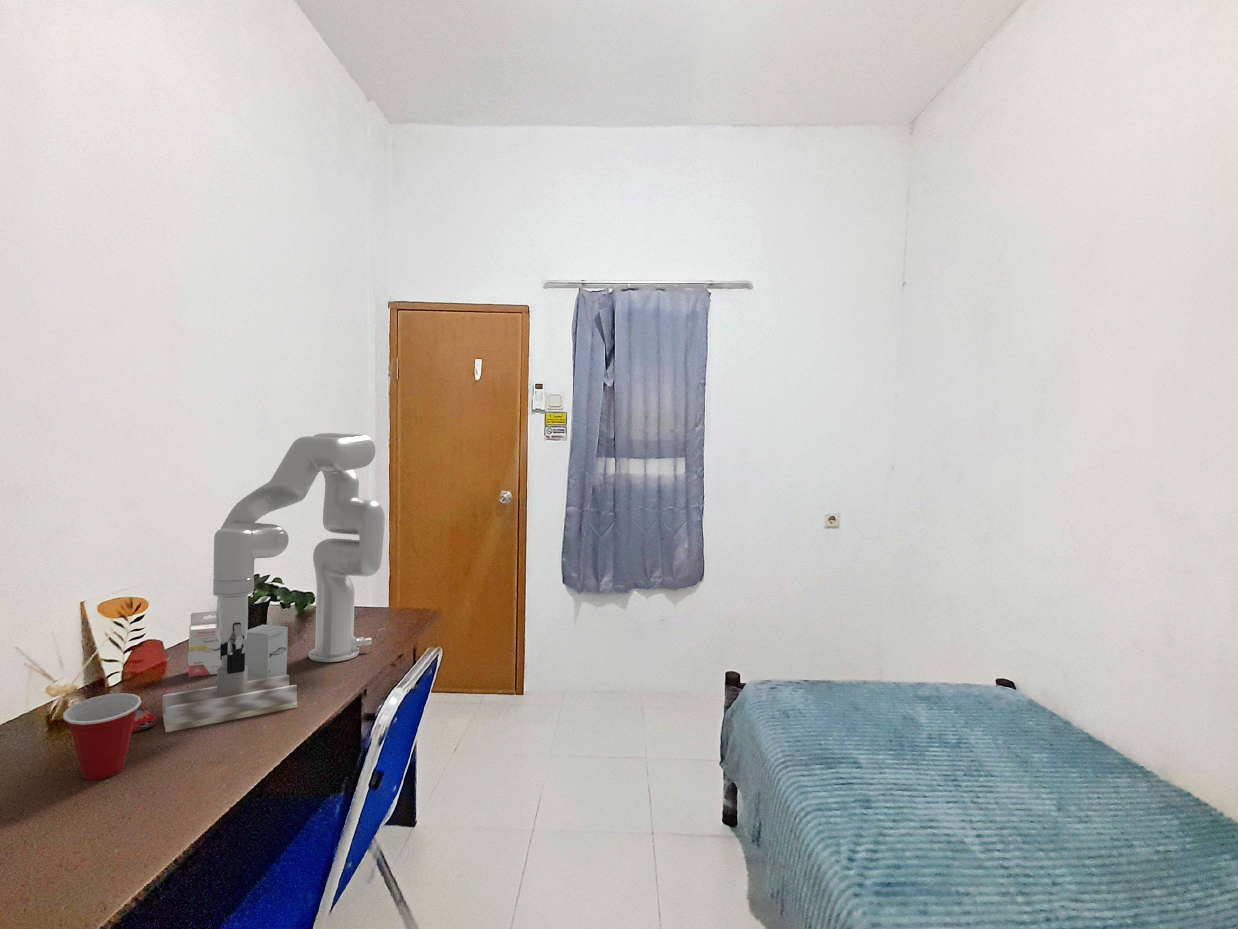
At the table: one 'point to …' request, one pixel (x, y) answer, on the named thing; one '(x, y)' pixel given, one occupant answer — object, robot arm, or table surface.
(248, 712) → the rail board
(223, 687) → the power adapter
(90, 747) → the plastic cup
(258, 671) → the supplement box
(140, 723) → the race car
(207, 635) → the ink cartridge box
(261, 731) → the table surface
